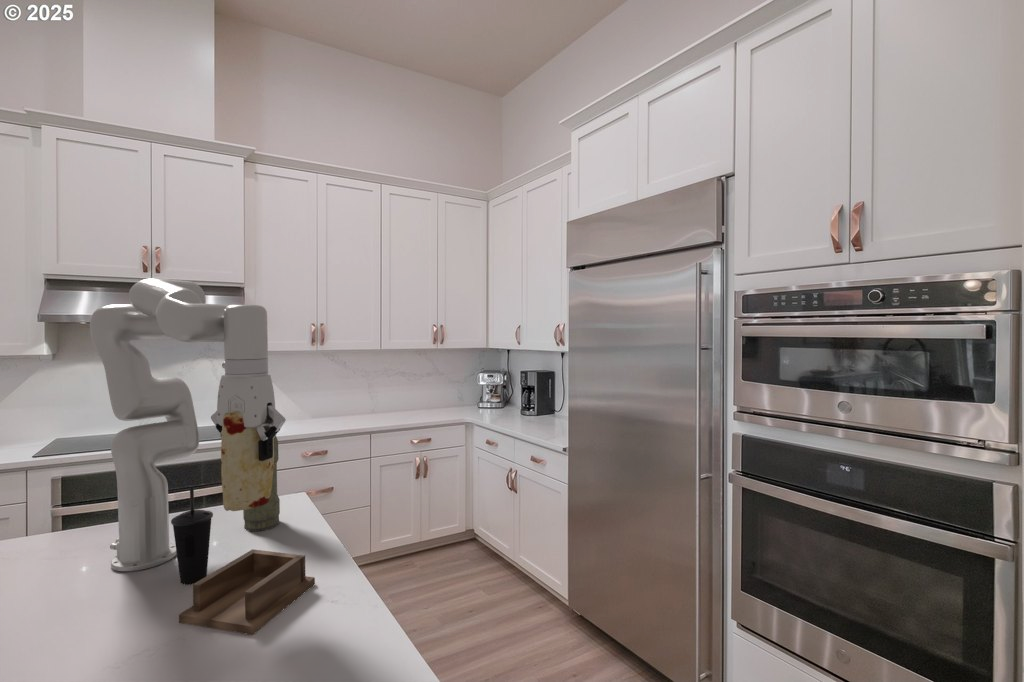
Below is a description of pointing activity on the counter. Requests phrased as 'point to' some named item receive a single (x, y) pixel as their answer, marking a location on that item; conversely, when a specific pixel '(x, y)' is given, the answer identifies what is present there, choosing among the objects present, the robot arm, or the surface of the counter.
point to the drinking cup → (192, 542)
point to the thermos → (270, 511)
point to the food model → (243, 466)
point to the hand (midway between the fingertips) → (248, 457)
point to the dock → (248, 591)
